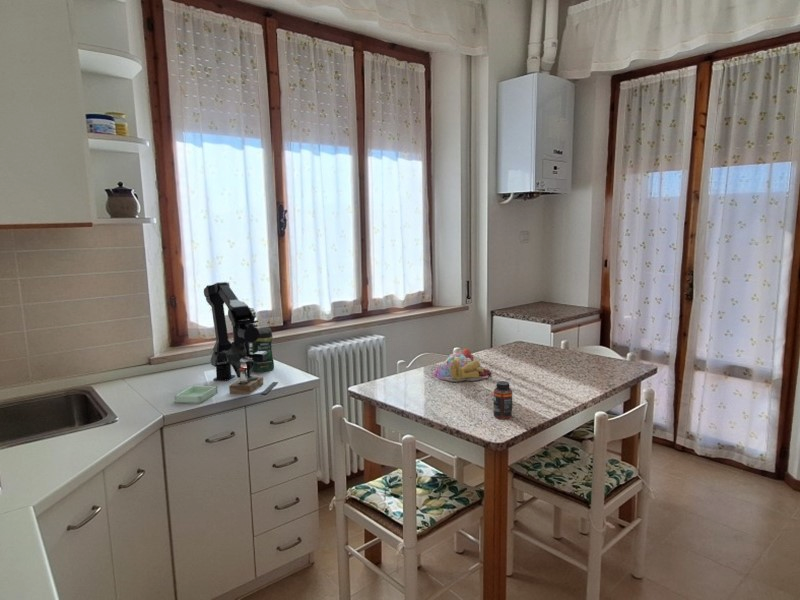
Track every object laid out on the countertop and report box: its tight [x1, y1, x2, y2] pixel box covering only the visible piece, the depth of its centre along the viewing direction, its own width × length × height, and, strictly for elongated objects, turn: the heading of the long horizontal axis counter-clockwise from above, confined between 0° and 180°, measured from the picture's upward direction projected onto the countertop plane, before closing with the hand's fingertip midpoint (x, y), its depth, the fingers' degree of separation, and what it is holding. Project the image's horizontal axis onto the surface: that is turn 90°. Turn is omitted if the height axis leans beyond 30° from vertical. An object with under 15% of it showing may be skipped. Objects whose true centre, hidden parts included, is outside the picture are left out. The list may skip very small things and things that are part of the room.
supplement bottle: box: [493, 380, 513, 420], centre depth 157 cm, size 6×6×11 cm
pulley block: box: [229, 374, 264, 395], centre depth 191 cm, size 12×8×4 cm, turn 171°
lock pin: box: [238, 365, 248, 385], centre depth 189 cm, size 4×4×9 cm
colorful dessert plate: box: [433, 348, 492, 383], centre depth 205 cm, size 25×24×9 cm
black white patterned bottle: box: [240, 307, 259, 363], centre depth 233 cm, size 9×9×25 cm
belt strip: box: [260, 381, 279, 395], centre depth 191 cm, size 14×2×1 cm, turn 176°
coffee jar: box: [252, 327, 275, 373], centre depth 216 cm, size 10×8×19 cm
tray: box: [173, 385, 218, 405], centre depth 182 cm, size 12×10×3 cm
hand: (243, 377), depth 189 cm, fingers open, 4 cm apart
